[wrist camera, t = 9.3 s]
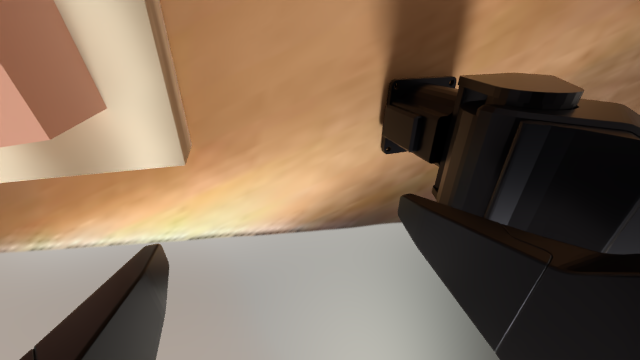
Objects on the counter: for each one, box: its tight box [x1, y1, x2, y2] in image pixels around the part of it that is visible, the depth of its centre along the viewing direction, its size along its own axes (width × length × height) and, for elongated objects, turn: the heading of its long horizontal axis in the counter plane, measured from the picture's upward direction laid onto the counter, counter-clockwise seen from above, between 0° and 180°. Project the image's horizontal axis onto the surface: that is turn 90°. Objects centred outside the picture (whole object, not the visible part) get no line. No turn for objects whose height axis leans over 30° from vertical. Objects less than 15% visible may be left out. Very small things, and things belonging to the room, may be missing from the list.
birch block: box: [0, 0, 192, 183], centre depth 13 cm, size 11×11×4 cm
